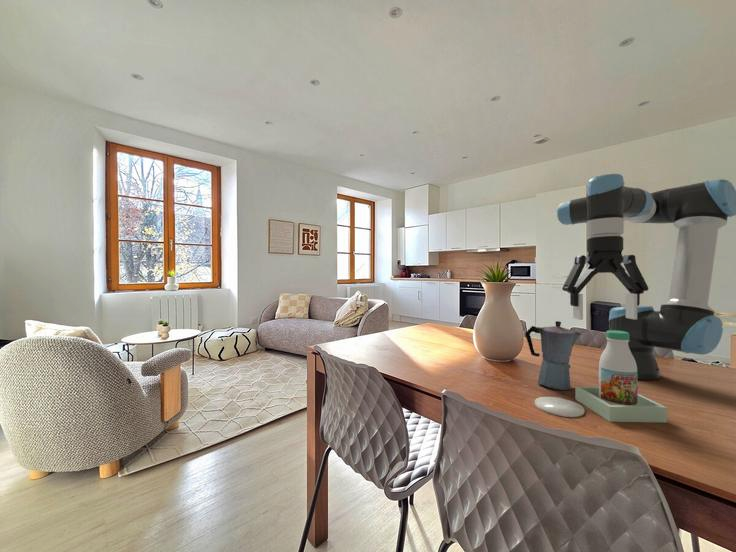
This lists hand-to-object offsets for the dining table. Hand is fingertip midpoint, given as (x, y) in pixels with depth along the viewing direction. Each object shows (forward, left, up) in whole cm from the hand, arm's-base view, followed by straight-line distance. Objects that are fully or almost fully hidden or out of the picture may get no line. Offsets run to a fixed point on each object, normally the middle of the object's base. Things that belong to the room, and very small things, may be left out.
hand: (604, 318), depth 81 cm
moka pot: (+5, -15, -23) cm, 28 cm away
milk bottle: (-2, +2, -23) cm, 23 cm away
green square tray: (-2, +2, -23) cm, 23 cm away
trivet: (+12, +1, -23) cm, 26 cm away
